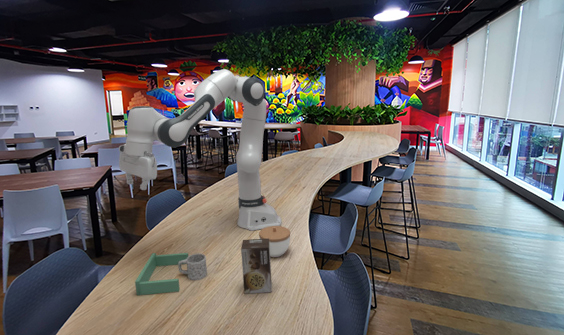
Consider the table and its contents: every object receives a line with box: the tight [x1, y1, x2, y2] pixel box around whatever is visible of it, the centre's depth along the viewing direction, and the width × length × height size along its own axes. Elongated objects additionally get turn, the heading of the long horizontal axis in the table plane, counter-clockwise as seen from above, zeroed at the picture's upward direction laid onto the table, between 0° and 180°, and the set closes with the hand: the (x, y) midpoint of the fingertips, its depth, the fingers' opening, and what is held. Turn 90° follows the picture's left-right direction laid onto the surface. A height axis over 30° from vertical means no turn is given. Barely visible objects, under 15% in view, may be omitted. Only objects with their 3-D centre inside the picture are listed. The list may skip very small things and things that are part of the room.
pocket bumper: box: [134, 252, 190, 296], centre depth 104 cm, size 13×18×5 cm
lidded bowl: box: [258, 225, 291, 258], centre depth 119 cm, size 13×13×11 cm
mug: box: [177, 253, 208, 281], centre depth 105 cm, size 10×7×7 cm
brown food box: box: [240, 238, 273, 294], centre depth 96 cm, size 9×6×16 cm
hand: (136, 186), depth 109 cm, fingers open, 8 cm apart
